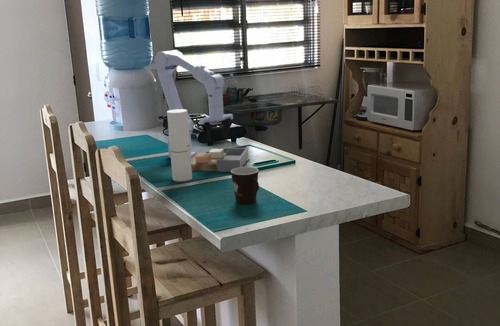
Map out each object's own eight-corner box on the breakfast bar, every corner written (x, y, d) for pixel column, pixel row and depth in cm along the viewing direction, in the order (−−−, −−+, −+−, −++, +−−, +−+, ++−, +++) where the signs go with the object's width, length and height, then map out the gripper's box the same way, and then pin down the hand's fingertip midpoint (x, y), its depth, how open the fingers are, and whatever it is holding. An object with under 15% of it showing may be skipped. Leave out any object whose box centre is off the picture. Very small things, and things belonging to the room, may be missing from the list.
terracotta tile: (195, 162, 206) (195, 156, 206) (199, 159, 211) (198, 153, 210) (208, 163, 205) (208, 156, 205) (211, 159, 210) (211, 153, 209)
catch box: (217, 171, 203) (216, 160, 202) (227, 158, 220) (226, 147, 219) (240, 171, 201) (239, 160, 200) (248, 158, 219) (248, 147, 218)
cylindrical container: (195, 176, 198) (191, 109, 191) (185, 182, 191) (180, 113, 185) (179, 174, 200) (174, 108, 194) (168, 180, 194) (162, 112, 188)
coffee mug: (231, 197, 174) (230, 167, 171) (258, 195, 174) (257, 166, 172) (233, 209, 162) (232, 178, 160) (262, 207, 163) (260, 176, 160)
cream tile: (209, 158, 212) (208, 152, 212) (211, 154, 217) (211, 148, 216) (221, 158, 211) (220, 152, 211) (224, 154, 216) (223, 148, 215)
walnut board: (184, 170, 206) (184, 164, 205) (196, 158, 222) (195, 152, 221) (217, 170, 203) (217, 164, 203) (227, 158, 220) (226, 153, 219)
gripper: (205, 109, 203) (207, 143, 207) (236, 104, 211) (238, 137, 215) (195, 107, 209) (198, 140, 213) (226, 102, 217) (228, 135, 221)
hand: (217, 139), depth 214 cm, fingers open, 7 cm apart
